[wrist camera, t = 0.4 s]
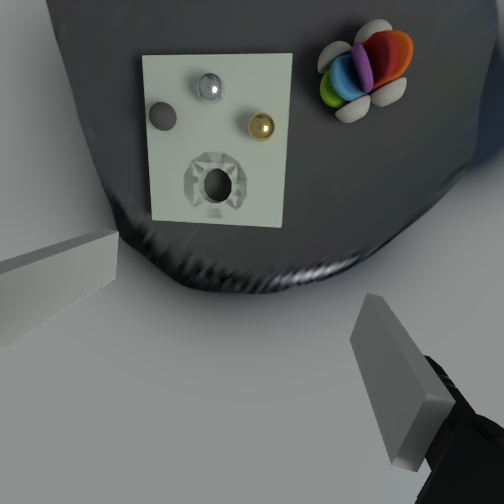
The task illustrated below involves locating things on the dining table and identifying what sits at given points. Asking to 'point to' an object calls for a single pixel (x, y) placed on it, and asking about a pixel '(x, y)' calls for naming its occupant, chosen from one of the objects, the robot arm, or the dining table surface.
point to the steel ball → (211, 88)
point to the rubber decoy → (162, 116)
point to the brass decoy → (261, 127)
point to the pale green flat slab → (218, 137)
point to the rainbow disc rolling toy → (365, 70)
